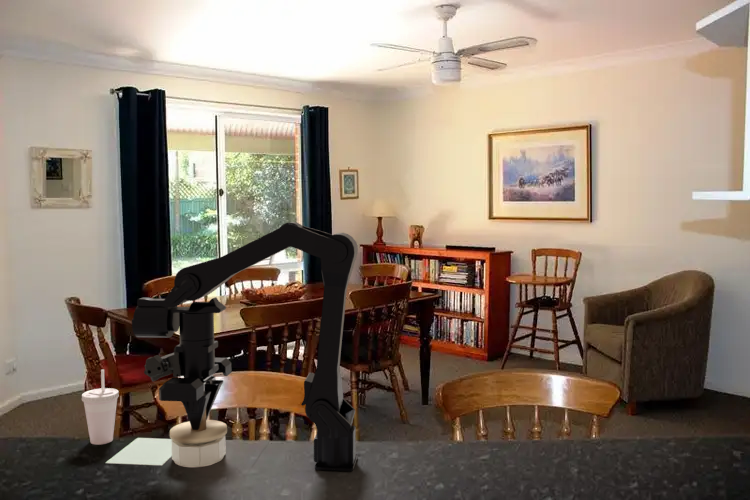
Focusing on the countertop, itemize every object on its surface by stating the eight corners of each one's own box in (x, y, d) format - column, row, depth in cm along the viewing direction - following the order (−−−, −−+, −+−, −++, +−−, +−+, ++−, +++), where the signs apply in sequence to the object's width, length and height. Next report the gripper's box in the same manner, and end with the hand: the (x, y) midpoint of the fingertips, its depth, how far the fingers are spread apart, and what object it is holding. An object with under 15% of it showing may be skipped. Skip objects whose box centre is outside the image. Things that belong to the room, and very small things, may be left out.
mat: (188, 442, 122) (188, 439, 122) (161, 468, 110) (161, 465, 110) (137, 440, 123) (137, 437, 123) (105, 466, 111) (105, 462, 111)
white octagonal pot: (230, 452, 118) (230, 430, 117) (214, 471, 109) (214, 447, 109) (185, 450, 118) (184, 429, 118) (165, 469, 110) (165, 446, 110)
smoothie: (111, 450, 119) (109, 374, 118) (76, 449, 119) (74, 374, 118) (125, 437, 125) (123, 365, 124) (92, 437, 125) (90, 365, 124)
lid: (234, 425, 118) (234, 398, 117) (216, 444, 108) (215, 416, 108) (183, 423, 119) (182, 397, 118) (160, 442, 109) (159, 414, 109)
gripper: (173, 326, 122) (175, 408, 123) (126, 348, 104) (129, 444, 105) (231, 327, 121) (233, 410, 122) (194, 350, 103) (196, 447, 104)
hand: (198, 426), depth 113 cm, fingers closed on lid, 3 cm apart
